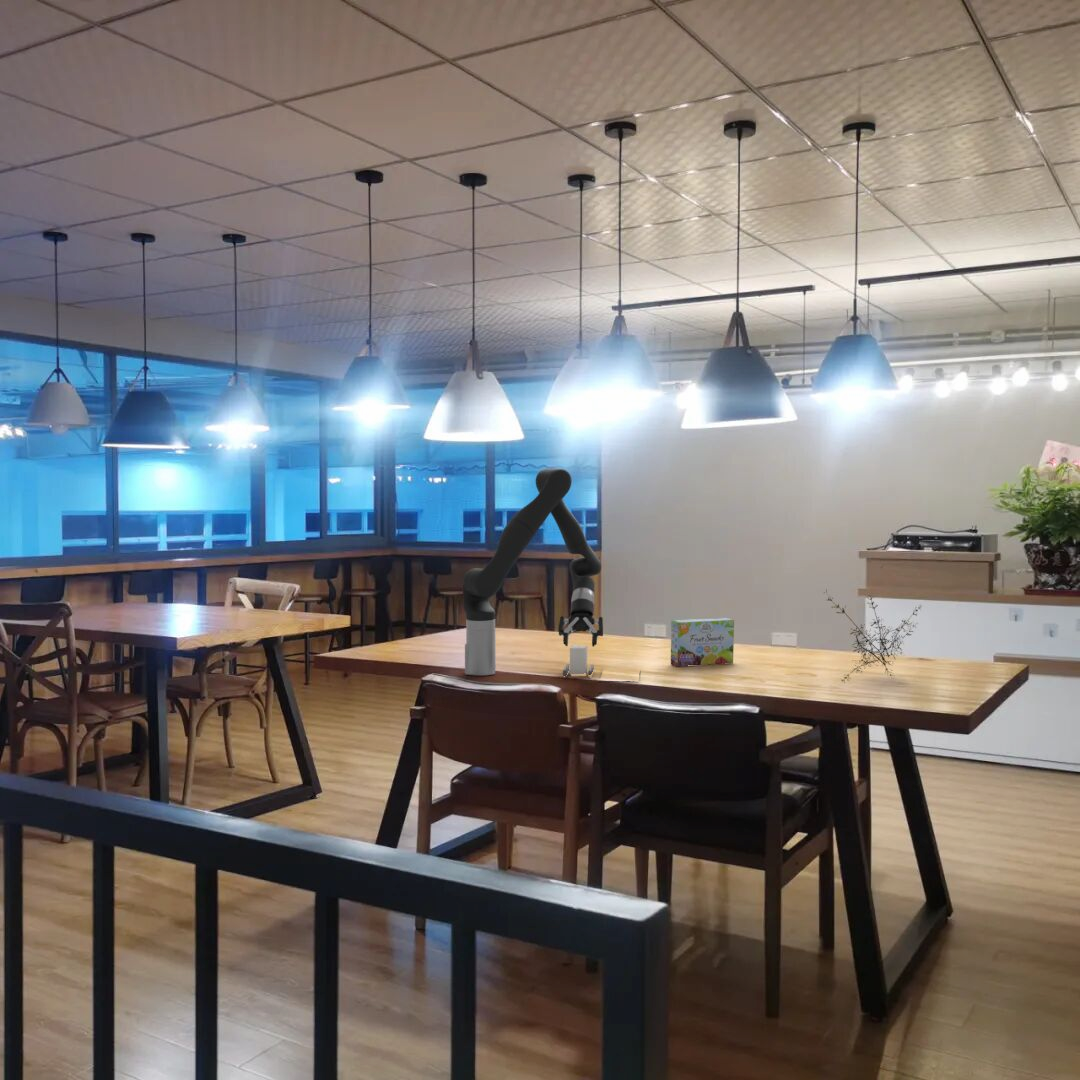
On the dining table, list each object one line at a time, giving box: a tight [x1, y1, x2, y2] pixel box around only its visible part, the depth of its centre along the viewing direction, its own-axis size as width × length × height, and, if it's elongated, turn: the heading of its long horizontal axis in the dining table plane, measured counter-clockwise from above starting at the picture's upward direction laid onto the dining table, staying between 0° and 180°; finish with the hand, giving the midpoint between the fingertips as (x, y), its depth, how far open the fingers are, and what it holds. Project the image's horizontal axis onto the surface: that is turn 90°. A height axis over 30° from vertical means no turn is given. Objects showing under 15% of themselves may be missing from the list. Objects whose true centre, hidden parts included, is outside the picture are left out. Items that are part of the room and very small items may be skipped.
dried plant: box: [823, 588, 923, 684], centre depth 311 cm, size 30×31×45 cm
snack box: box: [670, 617, 735, 667], centre depth 351 cm, size 21×6×15 cm, turn 112°
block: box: [569, 645, 588, 675], centre depth 330 cm, size 5×5×9 cm
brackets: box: [562, 663, 595, 677], centre depth 331 cm, size 9×12×2 cm
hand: (579, 644), depth 335 cm, fingers open, 8 cm apart
